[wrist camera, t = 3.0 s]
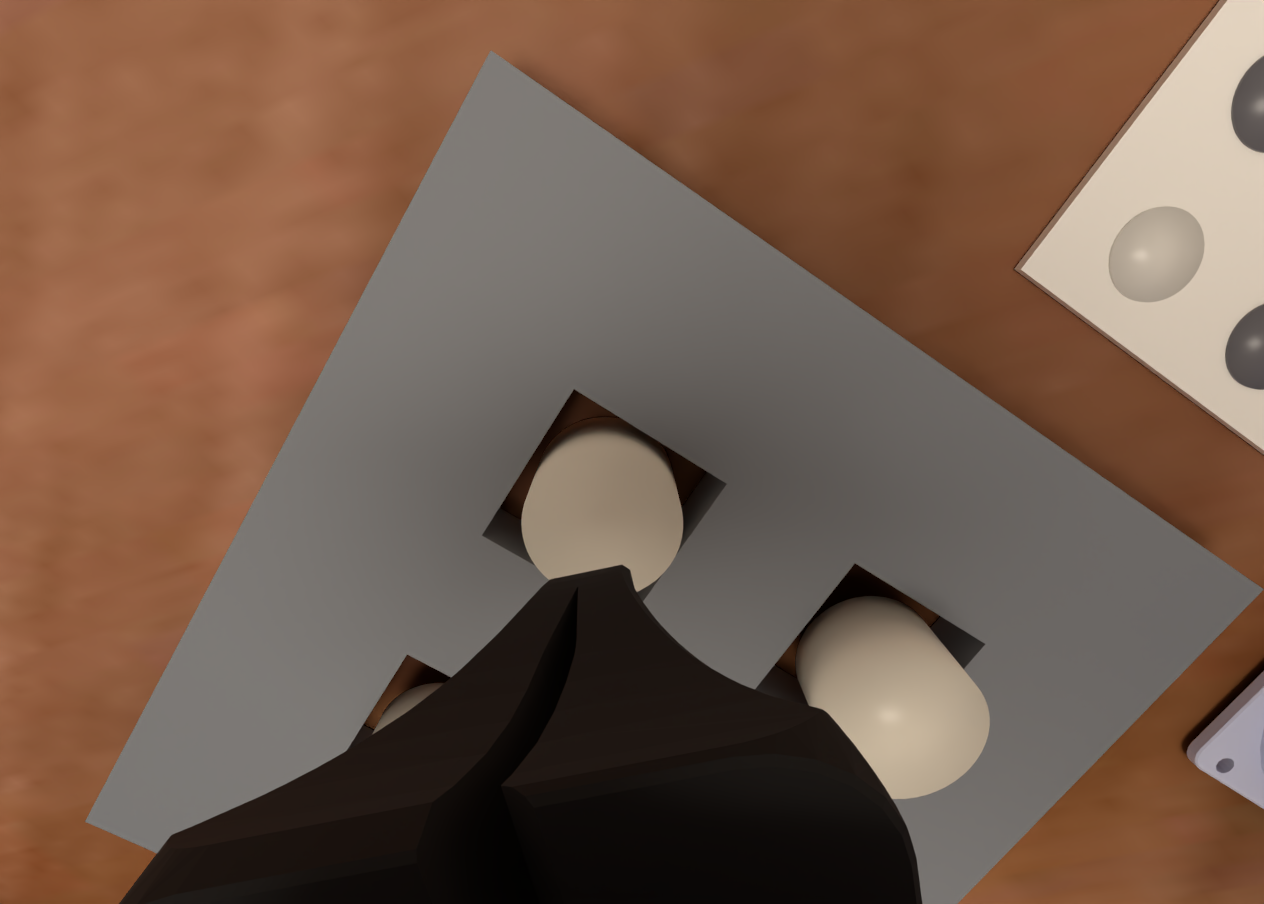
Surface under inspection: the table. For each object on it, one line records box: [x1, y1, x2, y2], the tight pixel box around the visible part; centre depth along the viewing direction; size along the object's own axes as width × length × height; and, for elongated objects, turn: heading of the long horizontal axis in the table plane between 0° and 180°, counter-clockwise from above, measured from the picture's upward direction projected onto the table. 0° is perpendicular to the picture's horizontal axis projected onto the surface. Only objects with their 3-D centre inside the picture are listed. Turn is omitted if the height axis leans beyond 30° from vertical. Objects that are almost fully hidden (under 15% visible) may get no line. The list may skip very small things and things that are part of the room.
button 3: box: [521, 417, 683, 592], centre depth 17 cm, size 4×4×3 cm
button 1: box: [795, 596, 990, 799], centre depth 17 cm, size 4×4×3 cm
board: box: [85, 51, 1264, 904], centre depth 19 cm, size 22×22×2 cm
